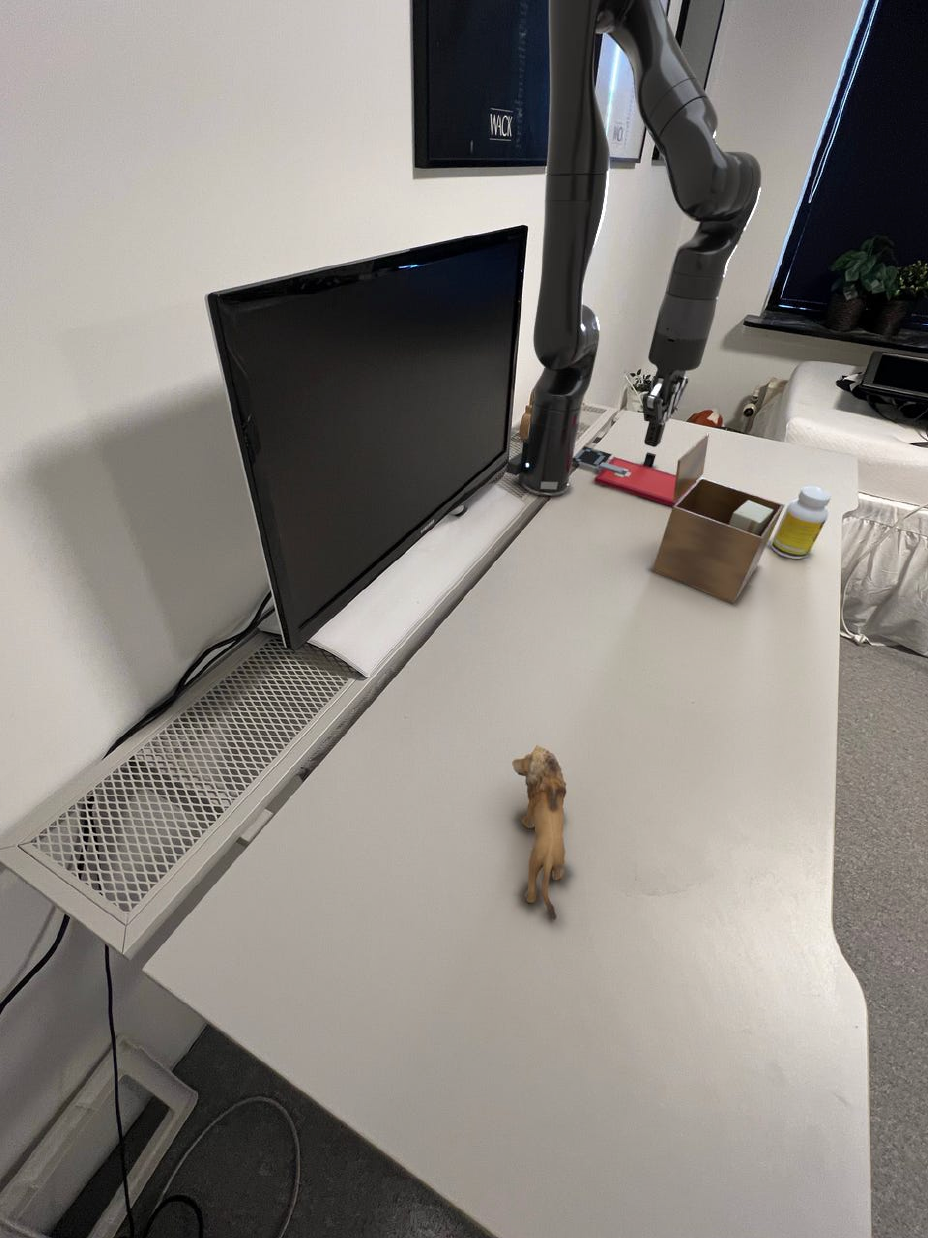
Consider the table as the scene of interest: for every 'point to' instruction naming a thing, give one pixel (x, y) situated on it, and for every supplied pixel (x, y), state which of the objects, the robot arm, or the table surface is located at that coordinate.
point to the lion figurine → (544, 819)
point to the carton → (712, 540)
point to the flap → (690, 467)
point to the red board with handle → (630, 475)
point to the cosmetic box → (751, 518)
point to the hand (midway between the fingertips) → (651, 444)
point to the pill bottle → (801, 523)
